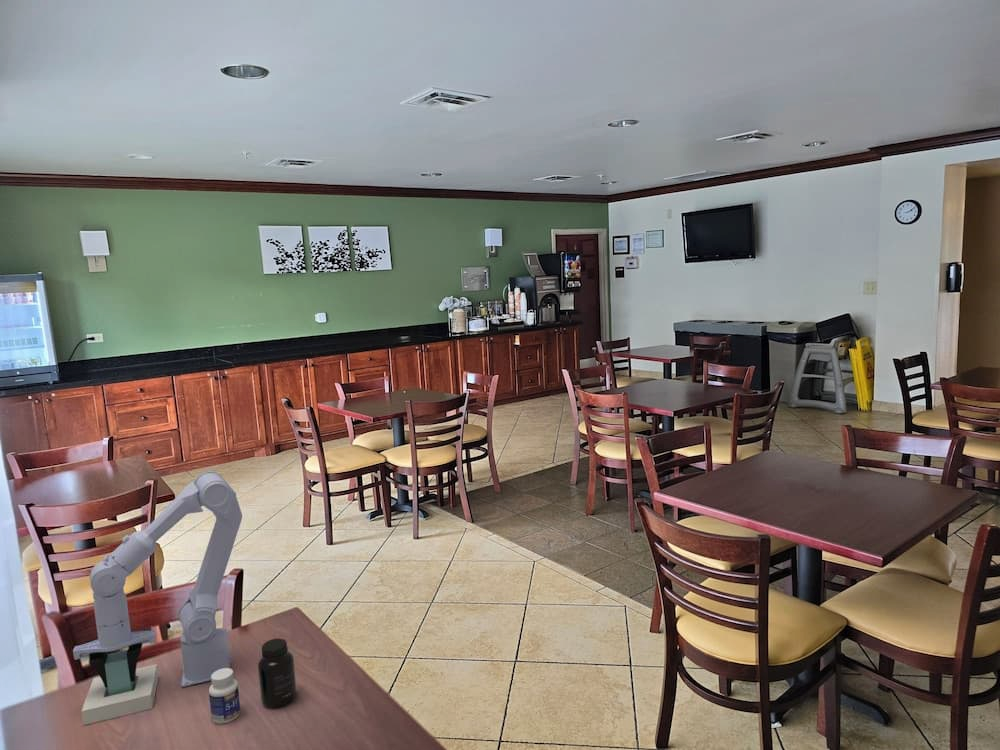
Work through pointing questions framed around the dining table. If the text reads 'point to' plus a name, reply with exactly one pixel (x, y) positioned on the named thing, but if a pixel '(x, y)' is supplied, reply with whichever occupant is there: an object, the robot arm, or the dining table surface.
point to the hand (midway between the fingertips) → (120, 681)
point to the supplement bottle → (276, 674)
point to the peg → (118, 673)
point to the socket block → (120, 697)
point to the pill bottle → (224, 696)
